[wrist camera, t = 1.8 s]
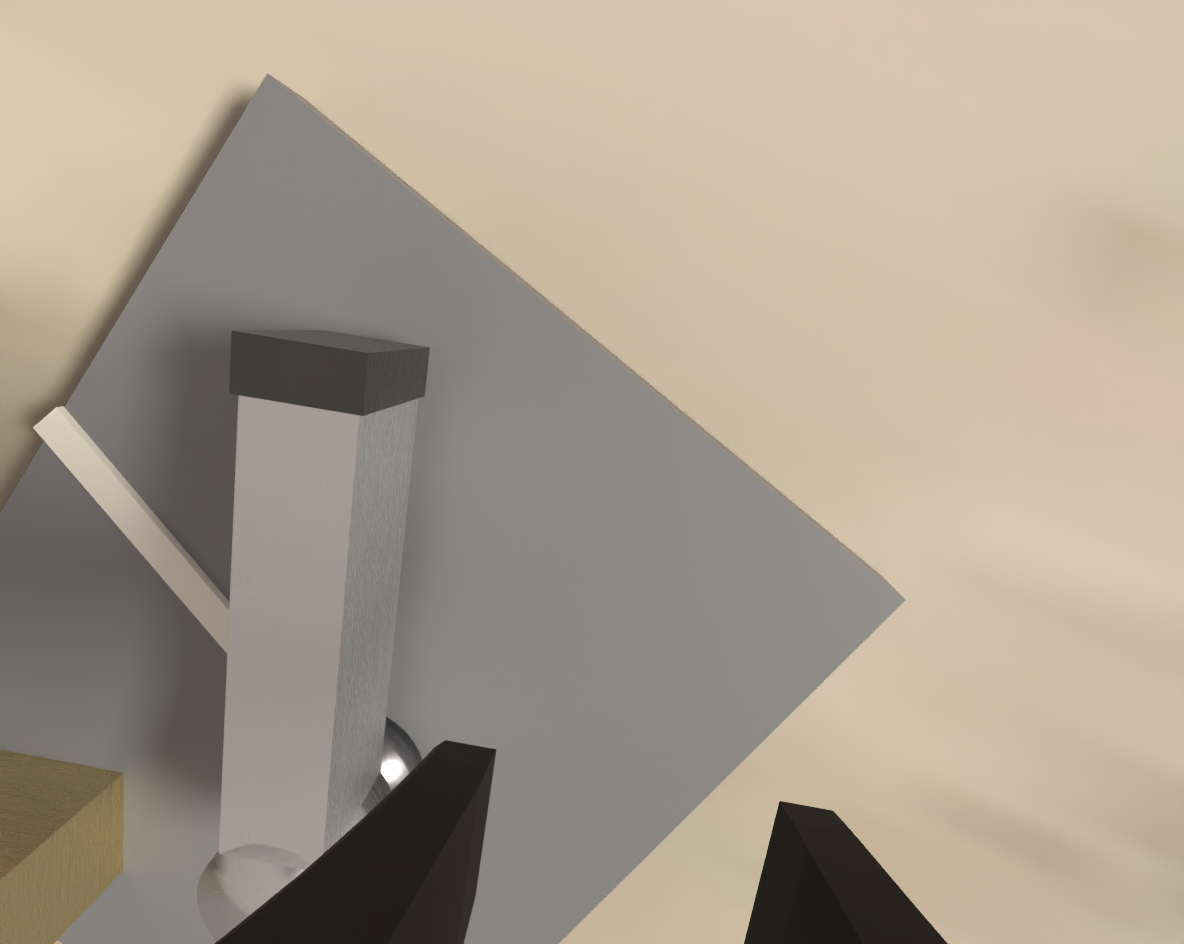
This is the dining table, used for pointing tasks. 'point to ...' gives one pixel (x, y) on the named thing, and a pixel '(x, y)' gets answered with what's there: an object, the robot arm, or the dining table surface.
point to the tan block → (55, 843)
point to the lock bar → (309, 600)
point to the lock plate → (409, 548)
